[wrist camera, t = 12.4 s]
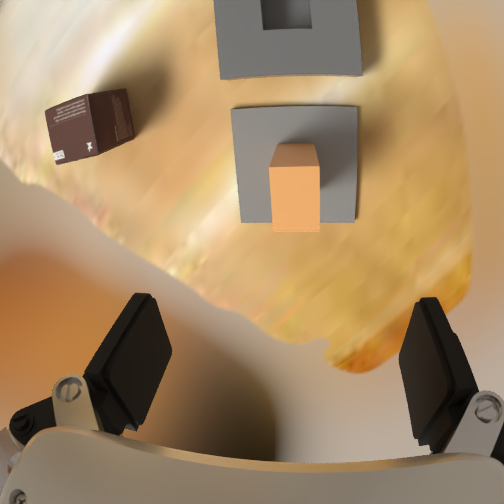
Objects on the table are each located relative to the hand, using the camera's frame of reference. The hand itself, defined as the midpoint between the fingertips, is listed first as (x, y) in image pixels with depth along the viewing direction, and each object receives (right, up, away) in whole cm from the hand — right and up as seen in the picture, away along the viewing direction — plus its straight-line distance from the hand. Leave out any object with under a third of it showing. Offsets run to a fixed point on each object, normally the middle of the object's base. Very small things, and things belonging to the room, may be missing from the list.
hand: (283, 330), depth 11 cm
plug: (+3, +11, +19) cm, 22 cm away
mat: (+3, +11, +20) cm, 23 cm away
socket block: (+2, +25, +12) cm, 28 cm away
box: (-17, +18, +20) cm, 31 cm away
